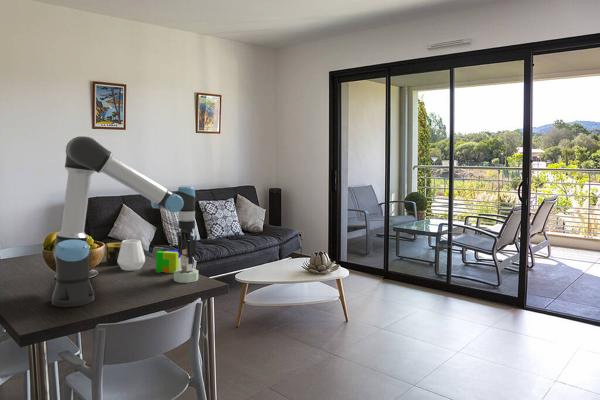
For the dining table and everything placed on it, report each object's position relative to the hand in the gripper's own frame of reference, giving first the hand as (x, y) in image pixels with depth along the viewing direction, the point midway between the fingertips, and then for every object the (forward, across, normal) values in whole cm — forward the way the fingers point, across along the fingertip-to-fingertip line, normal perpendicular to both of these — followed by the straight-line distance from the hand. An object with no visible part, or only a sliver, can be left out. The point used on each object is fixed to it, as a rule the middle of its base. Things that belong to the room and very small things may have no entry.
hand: (186, 269), depth 222 cm
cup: (+5, +35, +11) cm, 37 cm away
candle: (+5, +50, +12) cm, 52 cm away
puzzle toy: (+5, +20, -2) cm, 21 cm away
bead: (+5, 0, 0) cm, 5 cm away
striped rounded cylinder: (+5, 0, 0) cm, 5 cm away
